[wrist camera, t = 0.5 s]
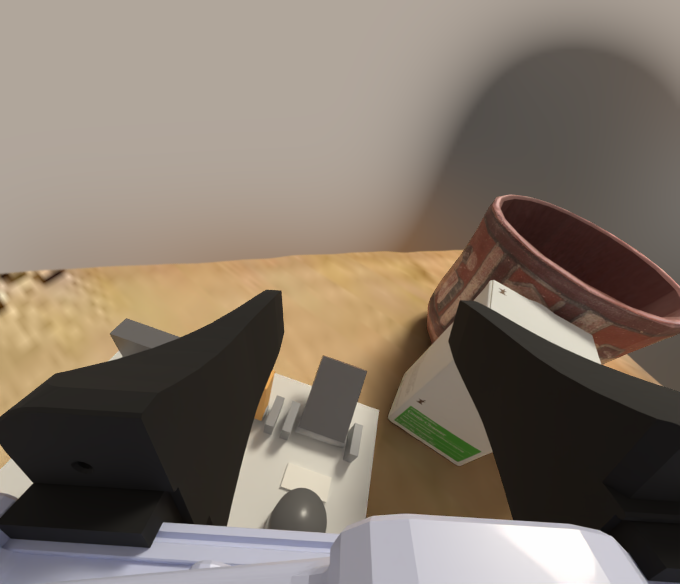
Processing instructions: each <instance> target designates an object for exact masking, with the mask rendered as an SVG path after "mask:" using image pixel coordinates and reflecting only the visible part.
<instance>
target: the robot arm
mask: <svg viewBox="0 0 680 584" xmlns="http://www.w3.org/2000/svg"><path fill="white" fill-rule="evenodd" d="M283 335H284V322H283V307H282V292H281V291H278V290H265V291H263V292H262V293H260V294H258V295H257V296H255V297H254V298H252V299H251V300H249V301H248V302H246V303H244V304H243V305H241V306H240V307H238V308H237V309H235V310H233V311H232V312H230V313H228V314H227V315H225V316H223V317H221V318H220V319H218V320H216V321H214V322H213V323H211V324H209V325H207V326H205V327H203V328H201V329H198V330H196V331H194V332H192V333H190V334H188V335H185V336H183V337H180V338H178V339H175V340H172V341H170V342H167V343H165V344H162V345H159V346H157V347H154V348H151V349H148V350H145V351H142V352H139V353H136V354H132V355H129V356H125V357H122V358H119V359H115V360H111V361H108V362H104V363H100V364H95V365H91V366H87V367H83V368H79V369H74V370H70V371H66V372H61V373H56V374H54V375H53V376H52V377H50V378H49V379H48V380H46V381H45V382H44V383H43V384H41V385H40V386H39V387H38V388H36V389H35V390H34V391H32V392H31V393H30V394H29V395H27V396H26V397H25V398H24V399H22V400H21V401H20V402H18V403H17V404H16V405H15V406H13V407H12V408H11V409H9V410H8V411H7V412H6V413H4V414H3V415H2V416H1V417H0V444H1V446H2V447H3V449H4V450H5V452H6V453H7V454H8V455H9V456H10V457H11V458H12V460H13V461H14V462H15V463H16V464H17V465H18V466H19V468H20V469H21V470H22V471H23V472H24V473H25V474H26V476H27V477H28V478H29V479H30V480H31V481H32V482H33V484H32V485H31V486H30V487H29V488H28V489H27V490H26V491H25V492H24V493H23V494H22V495H21V496H20V498H19V499H18V498H17V497H14V496H12V495H9V494H6V493H1V492H0V584H680V392H678V391H675V390H672V389H669V388H666V387H663V386H660V385H657V384H653V383H650V382H647V381H645V380H642V379H639V378H636V377H633V376H630V375H628V374H625V373H622V372H620V371H617V370H614V369H612V368H609V367H606V366H604V365H601V364H599V363H596V362H594V361H591V360H589V359H587V358H584V357H582V356H580V355H578V354H575V353H573V352H571V351H569V350H567V349H564V348H562V347H560V346H558V345H556V344H554V343H552V342H550V341H548V340H546V339H544V338H542V337H540V336H538V335H537V334H535V333H533V332H531V331H529V330H527V329H525V328H524V327H522V326H520V325H518V324H517V323H515V322H513V321H511V320H510V319H508V318H506V317H504V316H503V315H501V314H499V313H498V312H496V311H494V310H492V309H490V308H489V307H487V306H485V305H483V304H481V303H479V302H476V301H466V300H460V301H459V305H458V308H457V312H456V315H455V319H454V322H453V326H452V329H451V333H450V336H449V340H448V342H449V346H450V349H451V353H452V356H453V359H454V362H455V365H456V367H457V369H458V371H459V373H460V375H461V378H462V380H463V382H464V384H465V386H466V388H467V390H468V392H469V394H470V396H471V398H472V401H473V403H474V405H475V407H476V409H477V411H478V413H479V416H480V418H481V420H482V423H483V425H484V428H485V431H486V434H487V437H488V440H489V442H490V445H491V448H492V451H493V454H494V457H495V461H496V464H497V467H498V470H499V473H500V476H501V479H502V483H503V486H504V490H505V493H506V497H507V500H508V504H509V507H510V511H511V514H512V518H513V520H500V519H484V518H469V517H453V516H437V515H421V514H392V515H378V516H371V517H368V518H366V519H363V520H361V521H358V522H356V523H353V524H350V525H348V526H346V528H345V529H344V530H343V531H342V532H341V533H340V534H335V533H319V532H304V531H288V530H273V529H257V528H242V527H227V524H228V520H229V515H230V511H231V506H232V502H233V498H234V493H235V489H236V485H237V481H238V477H239V473H240V469H241V465H242V461H243V457H244V454H245V450H246V446H247V442H248V439H249V435H250V431H251V428H252V424H253V421H254V417H255V414H256V410H257V407H258V405H259V402H260V399H261V396H262V394H263V391H264V389H265V387H266V384H267V382H268V379H269V377H270V374H271V372H272V369H273V367H274V364H275V362H276V359H277V357H278V354H279V351H280V347H281V343H282V339H283Z"/></svg>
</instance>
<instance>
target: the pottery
mask: <svg viewBox="0 0 680 584" xmlns="http://www.w3.org/2000/svg"><path fill="white" fill-rule="evenodd" d="M491 280H495V281H497V282H499V283H500V284H502V285H504V286H506V287H508V288H509V289H511V290H513V291H515V292H516V293H518V294H520V295H522V296H523V297H525V298H527V299H529V300H533V301H536V302H538V303H540V304H542V305H543V306H545V307H546V308H548V309H549V310H551V311H552V312H553V313H554V314H556V315H557V316H559V317H561V318H563V319H565V320H566V321H568V322H570V323H572V324H573V325H575V326H577V327H579V328H580V329H582V330H584V331H586V332H588V333H589V334H591V335H592V336H593V339H594V343H595V346H596V350H597V353H598V356H599V359H600V362H601V365H602V364H605V363H607V362H609V361H612V360H614V359H616V358H619V357H621V356H623V355H625V354H628V353H630V352H633V351H636V350H638V349H641V348H643V347H646V346H649V345H651V344H654V343H656V342H659V341H662V340H664V339H667V338H670V337H672V336H675V335H677V334H680V286H679V285H678V284H677V283H676V282H675V281H674V280H673V279H672V278H671V277H670V276H668V275H667V274H666V273H665V272H664V271H663V270H662V269H661V268H660V267H658V266H657V265H656V264H654V263H653V262H652V261H651V260H649V259H648V258H646V257H645V256H644V255H643V254H641V253H640V252H639V251H637V250H636V249H634V248H633V247H631V246H629V245H628V244H626V243H625V242H623V241H622V240H620V239H619V238H617V237H616V236H614V235H613V234H611V233H609V232H607V231H606V230H604V229H602V228H600V227H598V226H597V225H595V224H593V223H591V222H590V221H588V220H586V219H584V218H581V217H579V216H577V215H575V214H573V213H571V212H569V211H567V210H565V209H562V208H560V207H558V206H555V205H553V204H551V203H548V202H545V201H541V200H538V199H535V198H531V197H527V196H519V195H505V196H500V197H497V198H496V199H495V200H494V201H493V203H492V204H491V205H490V207H489V208H488V210H487V212H486V214H485V215H484V217H483V219H482V221H481V223H480V224H479V226H478V228H477V230H476V232H475V233H474V235H473V236H472V238H471V240H470V241H469V243H468V244H467V246H466V248H465V249H464V251H463V252H462V254H461V255H460V257H459V258H458V259H457V260H456V262H455V263H454V264H453V266H452V267H451V268H450V270H449V271H448V272H447V273H446V275H445V276H444V277H443V279H442V280H441V281H440V283H439V285H438V286H437V288H436V289H435V291H434V293H433V295H432V296H431V298H430V301H429V304H428V318H427V330H428V333H429V336H430V339H431V343H432V344H433V343H434V342H435V341H436V340H437V339H438V338H439V337H440V335H441V334H442V333H443V332H444V331H445V330H446V329H447V328H448V327H449V326H450V325H451V324H452V323H453V322H454V319H455V315H456V312H457V308H458V305H459V301H460V300H466V301H474V300H475V298H476V297H477V296H478V295H479V294H480V293H481V292H482V291H483V289H484V288H485V287H486V286H487V284H488V283H489V281H491Z"/></svg>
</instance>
